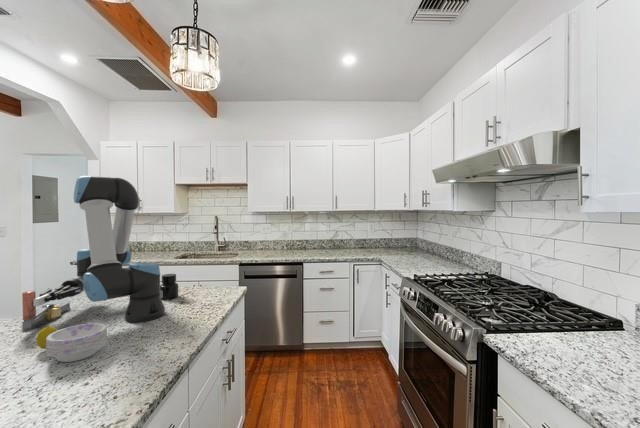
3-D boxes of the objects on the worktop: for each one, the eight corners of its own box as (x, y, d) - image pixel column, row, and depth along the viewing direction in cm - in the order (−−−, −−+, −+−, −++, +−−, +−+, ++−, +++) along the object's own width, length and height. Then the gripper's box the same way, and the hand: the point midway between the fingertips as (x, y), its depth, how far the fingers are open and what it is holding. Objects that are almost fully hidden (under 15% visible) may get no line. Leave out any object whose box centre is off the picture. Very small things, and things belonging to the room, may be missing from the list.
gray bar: (73, 308, 142) (73, 299, 142) (35, 328, 118) (35, 318, 118) (58, 309, 141) (58, 300, 141) (17, 329, 117) (17, 319, 117)
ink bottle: (164, 295, 163) (163, 273, 163) (181, 294, 164) (180, 272, 164) (156, 300, 154) (156, 277, 153) (174, 300, 155) (174, 276, 154)
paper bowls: (97, 340, 108) (96, 318, 108) (114, 352, 99) (114, 328, 99) (40, 357, 96) (39, 333, 95) (54, 373, 87) (54, 345, 86)
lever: (34, 322, 114) (33, 292, 114) (20, 323, 112) (19, 294, 112) (55, 306, 132) (55, 281, 132) (44, 307, 131) (43, 281, 130)
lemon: (33, 351, 99) (32, 327, 99) (53, 344, 105) (52, 321, 104) (42, 355, 97) (42, 330, 97) (63, 347, 102) (62, 324, 102)
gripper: (90, 294, 138) (55, 311, 115) (58, 295, 136) (15, 313, 113) (90, 277, 138) (55, 292, 115) (58, 278, 136) (15, 293, 113)
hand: (35, 302), depth 114 cm, fingers closed
